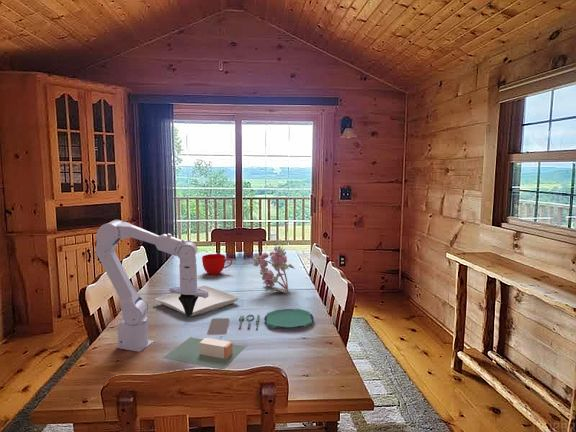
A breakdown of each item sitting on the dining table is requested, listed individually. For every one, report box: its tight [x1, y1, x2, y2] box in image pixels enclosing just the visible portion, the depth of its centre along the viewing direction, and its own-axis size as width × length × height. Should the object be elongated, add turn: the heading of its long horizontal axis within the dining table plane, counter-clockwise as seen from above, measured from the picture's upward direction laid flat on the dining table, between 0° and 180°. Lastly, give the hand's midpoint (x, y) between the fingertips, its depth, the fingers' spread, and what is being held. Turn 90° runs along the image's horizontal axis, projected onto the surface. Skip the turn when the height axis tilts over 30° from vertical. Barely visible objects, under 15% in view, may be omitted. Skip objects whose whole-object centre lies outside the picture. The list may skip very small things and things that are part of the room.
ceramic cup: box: [201, 253, 233, 276], centre depth 225 cm, size 13×17×10 cm
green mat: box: [162, 337, 246, 370], centre depth 131 cm, size 22×16×1 cm
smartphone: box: [206, 317, 231, 336], centre depth 152 cm, size 7×1×15 cm
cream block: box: [199, 337, 233, 359], centre depth 130 cm, size 4×4×10 cm
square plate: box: [154, 285, 240, 317], centre depth 176 cm, size 27×27×4 cm
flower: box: [249, 245, 296, 295], centre depth 196 cm, size 20×22×25 cm
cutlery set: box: [238, 308, 315, 331], centre depth 158 cm, size 20×30×2 cm, turn 92°
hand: (189, 315), depth 137 cm, fingers closed
